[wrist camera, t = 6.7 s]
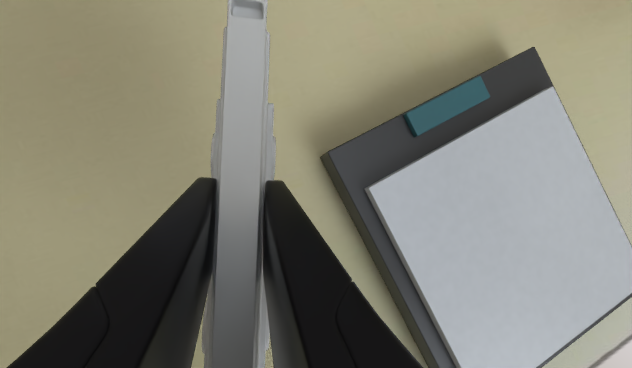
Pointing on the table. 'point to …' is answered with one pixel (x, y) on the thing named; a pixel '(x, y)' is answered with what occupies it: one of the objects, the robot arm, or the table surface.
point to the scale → (487, 221)
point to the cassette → (240, 194)
